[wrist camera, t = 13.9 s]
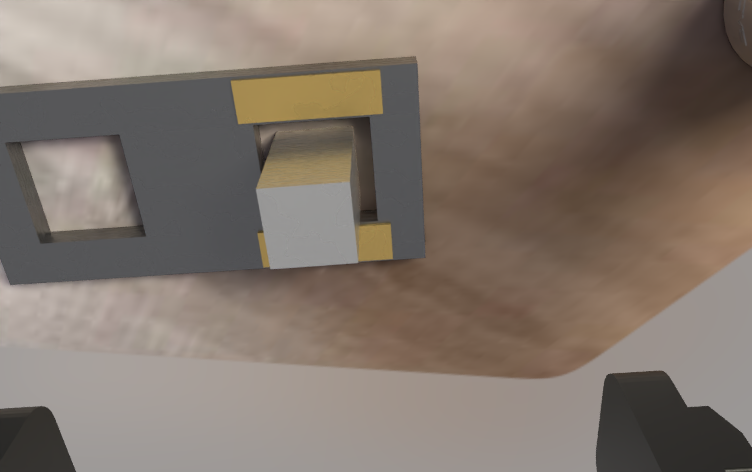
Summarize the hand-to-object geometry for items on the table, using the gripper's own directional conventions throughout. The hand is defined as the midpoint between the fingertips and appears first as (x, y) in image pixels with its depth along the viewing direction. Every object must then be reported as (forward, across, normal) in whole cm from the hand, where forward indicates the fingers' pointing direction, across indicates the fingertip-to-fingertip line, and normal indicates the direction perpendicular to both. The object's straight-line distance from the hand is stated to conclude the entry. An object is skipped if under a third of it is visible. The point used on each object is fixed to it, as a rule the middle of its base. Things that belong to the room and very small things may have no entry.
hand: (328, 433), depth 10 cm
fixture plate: (+30, +10, +8) cm, 33 cm away
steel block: (+30, +3, +8) cm, 31 cm away
